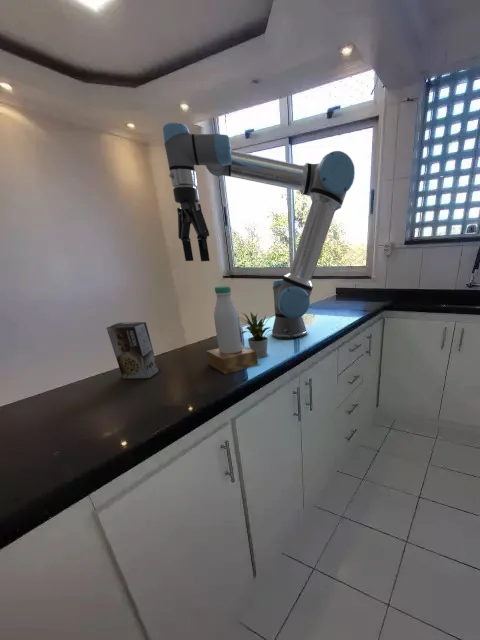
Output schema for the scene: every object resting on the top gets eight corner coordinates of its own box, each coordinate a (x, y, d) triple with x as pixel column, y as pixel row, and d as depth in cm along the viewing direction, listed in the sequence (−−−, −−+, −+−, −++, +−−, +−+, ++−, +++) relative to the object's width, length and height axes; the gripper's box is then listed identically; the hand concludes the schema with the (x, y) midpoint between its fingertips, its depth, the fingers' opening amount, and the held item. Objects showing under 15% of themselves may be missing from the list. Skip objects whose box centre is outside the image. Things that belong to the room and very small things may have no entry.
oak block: (240, 357, 112) (238, 343, 109) (258, 365, 103) (256, 350, 101) (208, 365, 105) (206, 350, 103) (225, 374, 97) (223, 359, 94)
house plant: (228, 357, 111) (221, 311, 104) (254, 347, 121) (249, 304, 114) (258, 364, 104) (252, 315, 97) (283, 353, 114) (280, 307, 107)
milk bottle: (240, 354, 98) (232, 287, 89) (216, 354, 99) (205, 288, 90) (244, 347, 105) (237, 284, 96) (222, 347, 105) (213, 285, 97)
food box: (159, 371, 101) (147, 321, 94) (149, 378, 95) (134, 326, 88) (133, 371, 102) (119, 322, 95) (121, 378, 96) (105, 326, 89)
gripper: (160, 193, 105) (173, 261, 114) (188, 180, 88) (201, 261, 97) (182, 194, 109) (193, 260, 119) (213, 182, 92) (223, 260, 101)
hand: (197, 261), depth 108 cm, fingers open, 13 cm apart
